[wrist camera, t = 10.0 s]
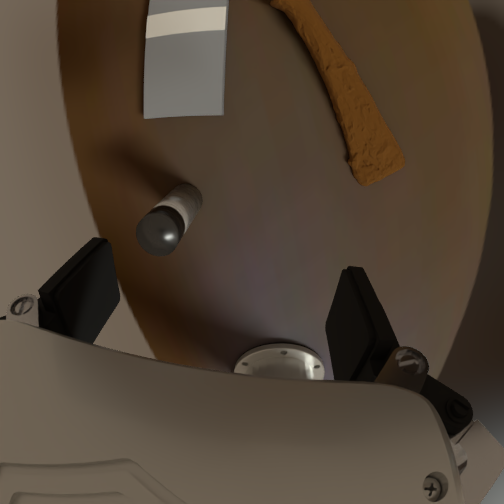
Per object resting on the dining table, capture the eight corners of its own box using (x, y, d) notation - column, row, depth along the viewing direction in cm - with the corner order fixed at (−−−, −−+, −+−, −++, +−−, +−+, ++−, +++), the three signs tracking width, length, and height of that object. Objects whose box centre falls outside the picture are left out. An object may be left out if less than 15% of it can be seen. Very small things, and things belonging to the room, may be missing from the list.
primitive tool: (405, 164, 23) (421, 173, 20) (358, 189, 25) (370, 200, 22) (301, -9, 16) (305, -24, 13) (248, 15, 18) (245, 1, 15)
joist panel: (223, 114, 22) (221, 115, 21) (148, 118, 22) (143, 118, 21) (232, -50, 13) (231, -56, 12) (160, -41, 14) (156, -45, 13)
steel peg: (203, 215, 27) (179, 257, 20) (171, 214, 27) (139, 254, 20) (202, 183, 25) (175, 215, 18) (169, 183, 25) (133, 214, 18)
